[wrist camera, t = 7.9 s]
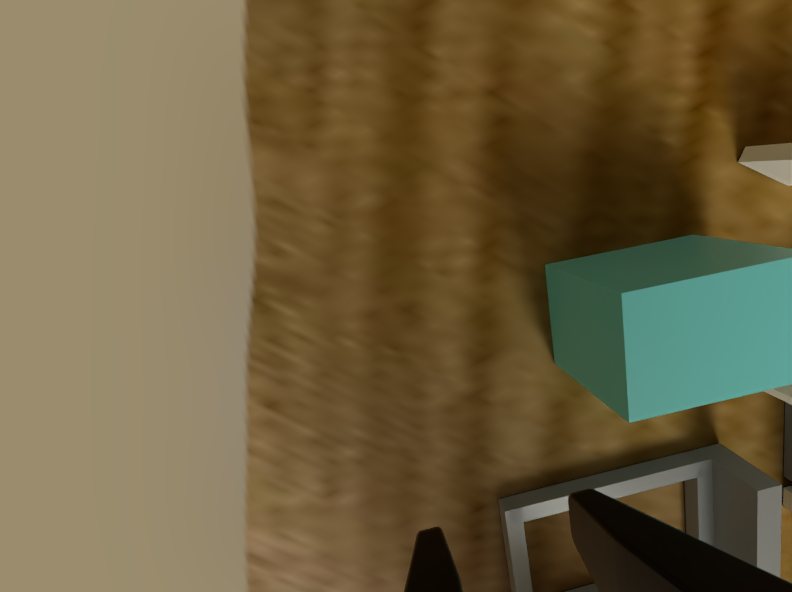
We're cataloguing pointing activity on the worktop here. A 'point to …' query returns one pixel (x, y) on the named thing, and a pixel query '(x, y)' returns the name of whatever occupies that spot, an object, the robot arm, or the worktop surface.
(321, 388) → the worktop surface
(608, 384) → the plug
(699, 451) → the grey rectangular frame stand
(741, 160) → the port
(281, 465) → the worktop surface
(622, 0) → the worktop surface
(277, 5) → the worktop surface
